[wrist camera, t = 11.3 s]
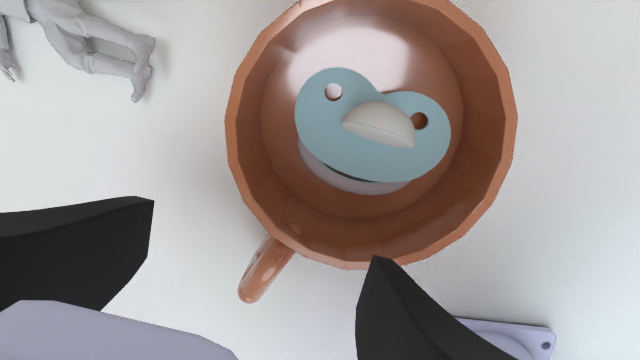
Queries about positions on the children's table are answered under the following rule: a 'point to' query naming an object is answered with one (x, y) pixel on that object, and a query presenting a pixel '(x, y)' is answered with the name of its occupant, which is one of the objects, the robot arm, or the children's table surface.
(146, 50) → the soldier figure
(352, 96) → the pacifier
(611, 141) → the children's table surface
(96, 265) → the robot arm
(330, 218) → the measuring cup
